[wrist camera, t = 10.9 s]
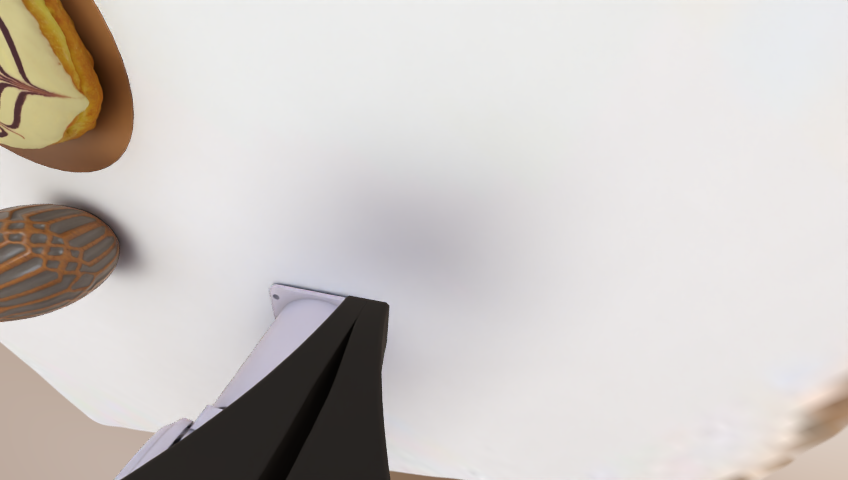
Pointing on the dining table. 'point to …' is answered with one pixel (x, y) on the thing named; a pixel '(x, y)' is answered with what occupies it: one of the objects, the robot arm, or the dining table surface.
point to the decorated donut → (44, 76)
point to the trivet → (116, 106)
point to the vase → (51, 258)
